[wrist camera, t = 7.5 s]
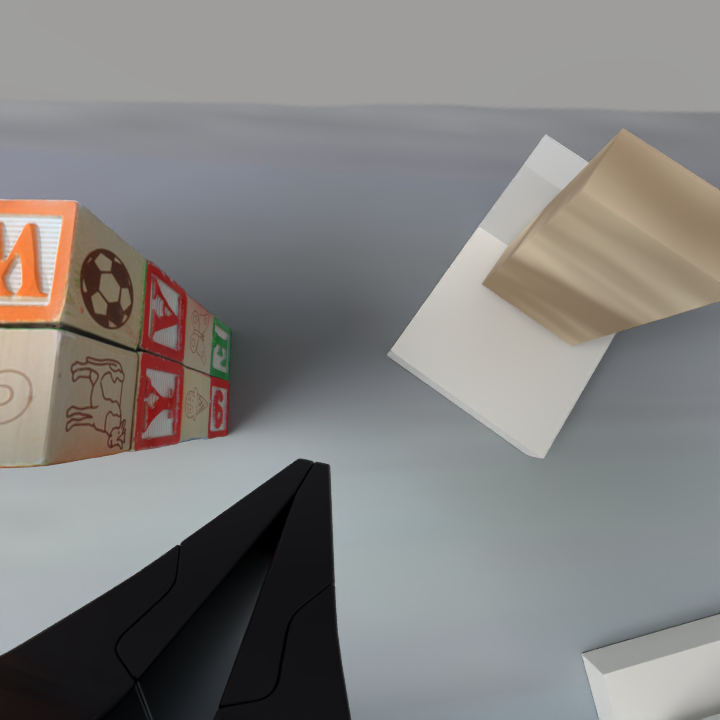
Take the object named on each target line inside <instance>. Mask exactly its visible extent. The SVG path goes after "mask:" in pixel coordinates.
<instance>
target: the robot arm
mask: <svg viewBox="0 0 720 720" xmlns="http://www.w3.org/2000/svg"><path fill="white" fill-rule="evenodd" d="M334 585H335V575H334V550H333V524H332V499H331V474H330V465H329V464H325V463H321V462H315V463H314V462H313V461H311V460H306V459H297V460H296V461H294V462H293V463H292V464H290V465H289V466H287V467H286V468H285V469H283V470H282V471H280V472H279V473H278V474H276V475H275V476H273V477H272V478H271V479H269V480H268V481H266V482H265V483H264V484H262V485H261V486H259V487H258V488H257V489H255V490H254V491H252V492H251V493H250V494H248V495H247V496H245V497H244V498H243V499H241V500H240V501H238V502H237V503H236V504H234V505H233V506H231V507H230V508H229V509H227V510H226V511H224V512H223V513H222V514H220V515H219V516H217V517H216V518H215V519H213V520H212V521H210V522H209V523H208V524H206V525H205V526H203V527H202V528H201V529H199V530H198V531H196V532H195V533H194V534H192V535H191V536H189V537H188V538H187V539H185V540H184V541H182V542H181V544H180V545H177V546H175V547H174V548H172V549H171V550H169V551H168V552H167V553H165V554H164V555H162V556H161V557H160V558H158V559H157V560H155V561H154V562H152V563H151V564H149V565H148V566H146V567H145V568H144V569H142V570H141V571H139V572H138V573H136V574H135V575H133V576H132V577H130V578H128V579H127V580H125V581H124V582H122V583H120V584H119V585H117V586H116V587H114V588H113V589H111V590H109V591H108V592H106V593H105V594H103V595H101V596H100V597H98V598H96V599H95V600H93V601H91V602H90V603H88V604H87V605H85V606H83V607H82V608H80V609H78V610H77V611H75V612H73V613H72V614H70V615H68V616H67V617H65V618H63V619H62V620H60V621H58V622H57V623H55V624H54V625H52V626H50V627H49V628H47V629H45V630H44V631H42V632H40V633H39V634H37V635H35V636H34V637H32V638H30V639H29V640H27V641H25V642H24V643H22V644H20V645H19V646H17V647H15V648H13V649H12V650H10V651H8V652H6V653H4V654H2V655H0V720H351V715H350V709H349V703H348V697H347V691H346V685H345V679H344V673H343V667H342V659H341V652H340V645H339V637H338V628H337V614H336V596H335V586H334Z"/></svg>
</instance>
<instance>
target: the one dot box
mask: <svg viewBox="0 0 720 720" xmlns="http://www.w3.org/2000/svg"><path fill="white" fill-rule="evenodd" d="M582 657H583V661H584V665H585V669H586V672H587V676H588V680H589V683H590V687H591V691H592V695H593V698H594V702H595V706H596V709H597V713H598V717H599V720H701V719H704V718H707V717H710V716H713V715H716V714H720V614H718V615H714V616H711V617H707V618H704V619H700V620H697V621H693V622H690V623H686V624H683V625H679V626H676V627H672V628H669V629H665V630H662V631H658V632H655V633H651V634H648V635H644V636H641V637H637V638H634V639H630V640H627V641H624V642H620V643H617V644H613V645H610V646H606V647H603V648H599V649H596V650H592V651H589V652H585V653H582Z"/></svg>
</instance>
